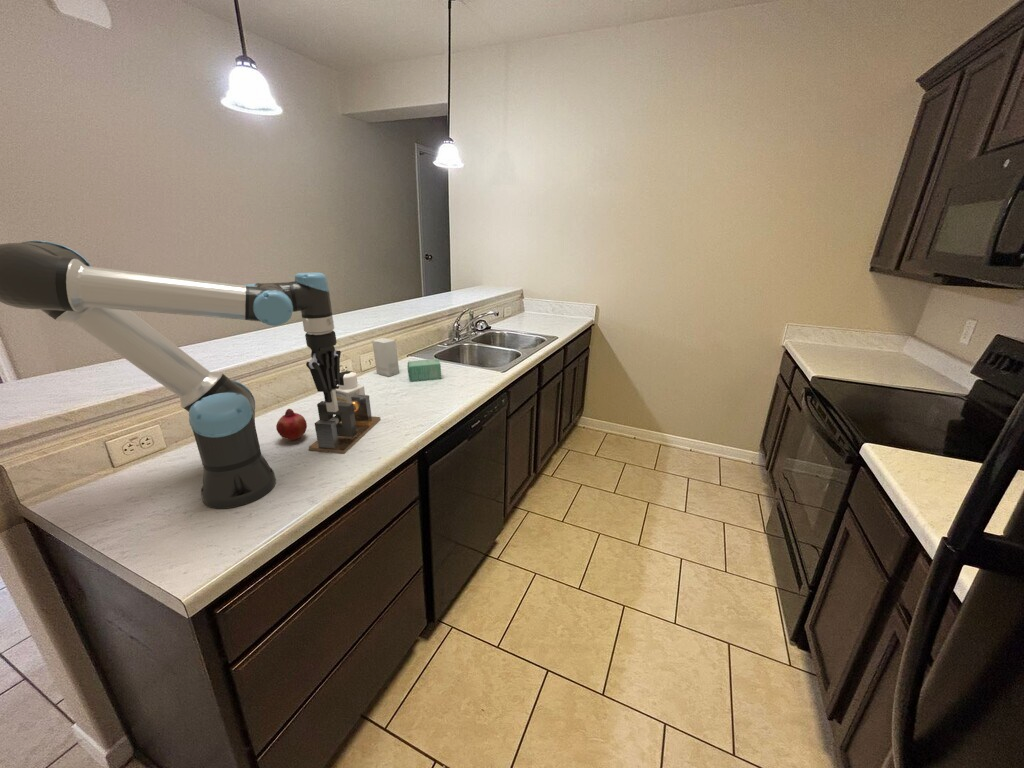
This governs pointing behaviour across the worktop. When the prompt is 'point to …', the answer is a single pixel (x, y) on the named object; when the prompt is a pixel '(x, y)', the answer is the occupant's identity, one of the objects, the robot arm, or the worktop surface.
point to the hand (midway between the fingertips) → (332, 410)
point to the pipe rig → (328, 429)
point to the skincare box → (386, 356)
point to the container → (348, 387)
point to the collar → (346, 418)
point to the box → (424, 370)
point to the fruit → (291, 425)
